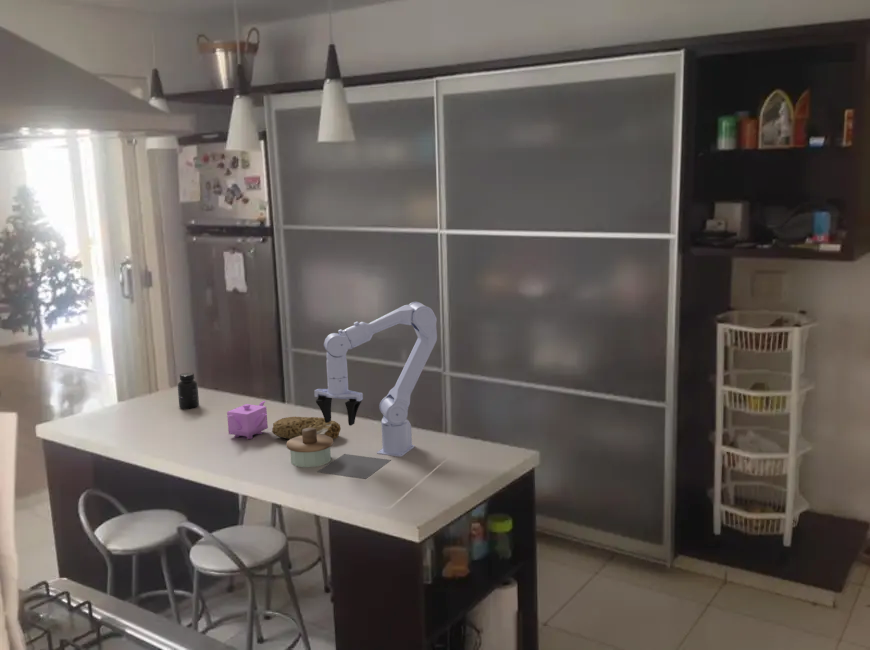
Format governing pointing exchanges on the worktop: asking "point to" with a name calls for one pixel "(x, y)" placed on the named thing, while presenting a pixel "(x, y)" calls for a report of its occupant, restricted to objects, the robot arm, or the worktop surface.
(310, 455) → the bowl
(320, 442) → the lid
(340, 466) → the mat
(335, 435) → the sponge
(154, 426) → the worktop surface
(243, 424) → the teapot
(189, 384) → the supplement bottle
